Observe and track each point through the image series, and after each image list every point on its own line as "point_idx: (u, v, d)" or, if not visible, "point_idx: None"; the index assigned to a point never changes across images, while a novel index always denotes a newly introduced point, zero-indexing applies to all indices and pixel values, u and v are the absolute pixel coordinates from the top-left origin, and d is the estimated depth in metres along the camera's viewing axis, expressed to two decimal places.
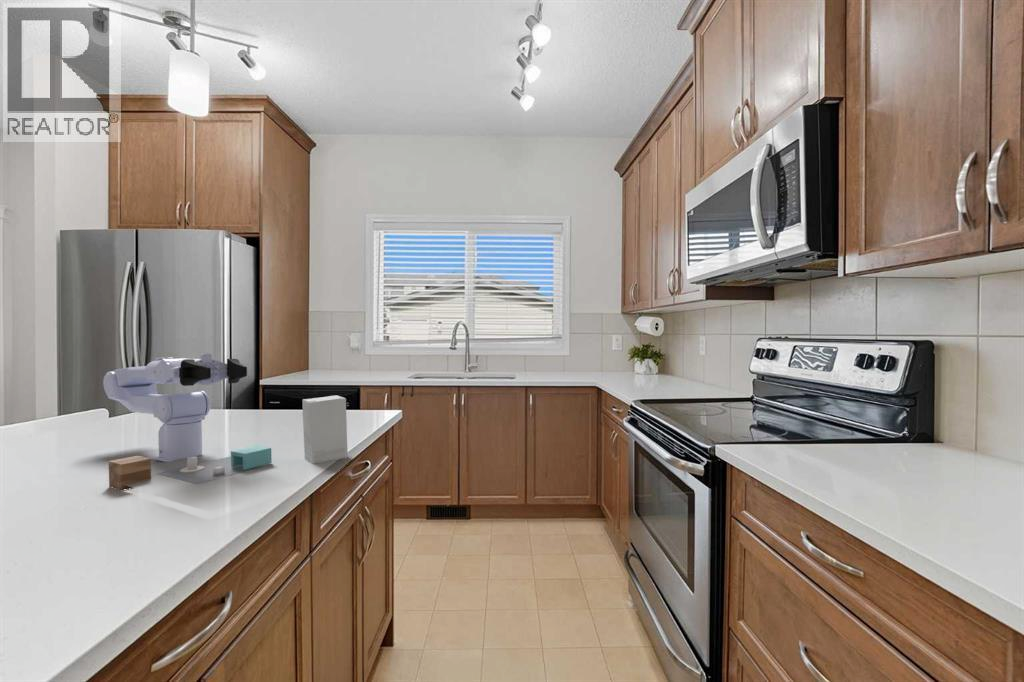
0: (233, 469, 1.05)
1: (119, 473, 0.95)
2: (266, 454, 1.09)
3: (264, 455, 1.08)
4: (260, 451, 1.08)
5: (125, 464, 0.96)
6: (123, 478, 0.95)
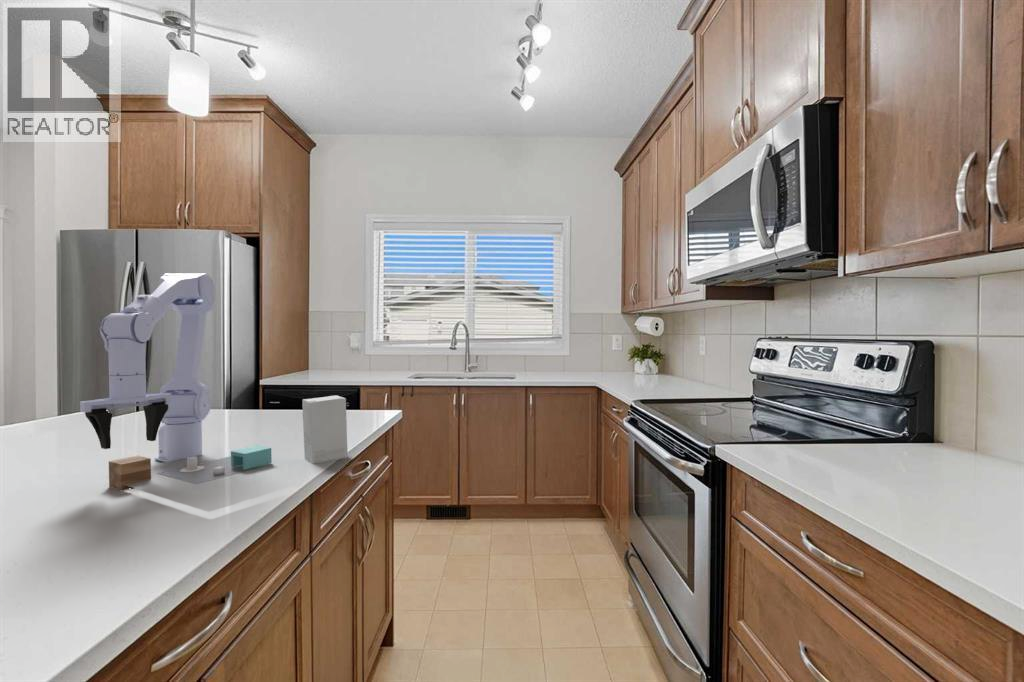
0: (233, 469, 1.05)
1: (119, 473, 0.95)
2: (266, 454, 1.09)
3: (264, 455, 1.08)
4: (260, 451, 1.08)
5: (125, 464, 0.96)
6: (123, 478, 0.95)
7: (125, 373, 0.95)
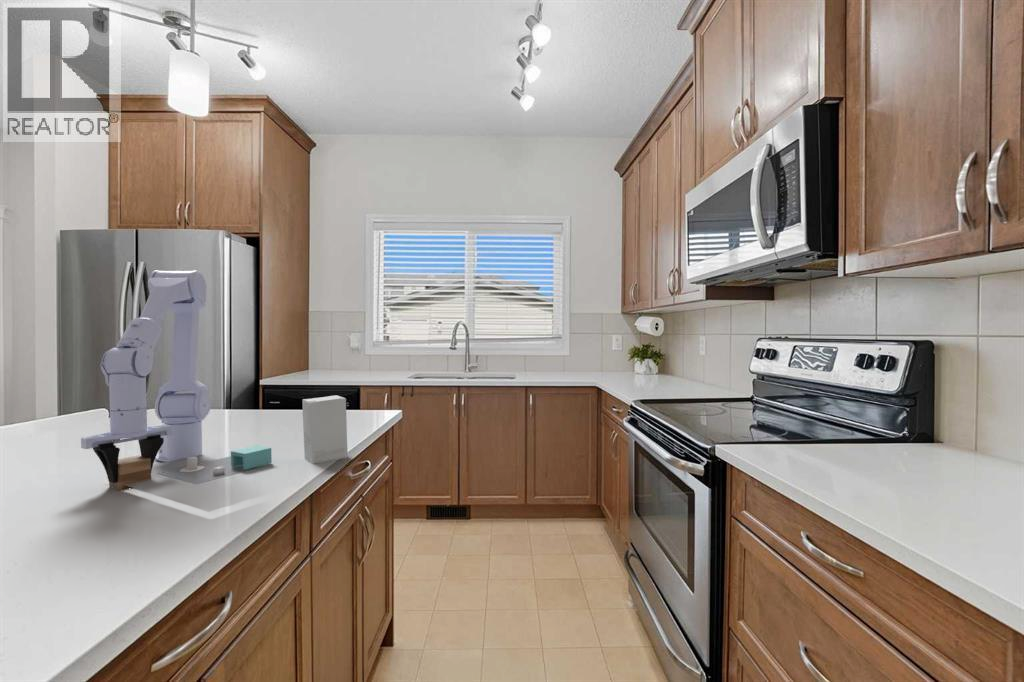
0: (233, 469, 1.05)
1: (119, 473, 0.95)
2: (266, 454, 1.09)
3: (264, 455, 1.08)
4: (260, 451, 1.08)
5: (125, 464, 0.96)
6: (123, 478, 0.95)
7: (126, 408, 0.96)
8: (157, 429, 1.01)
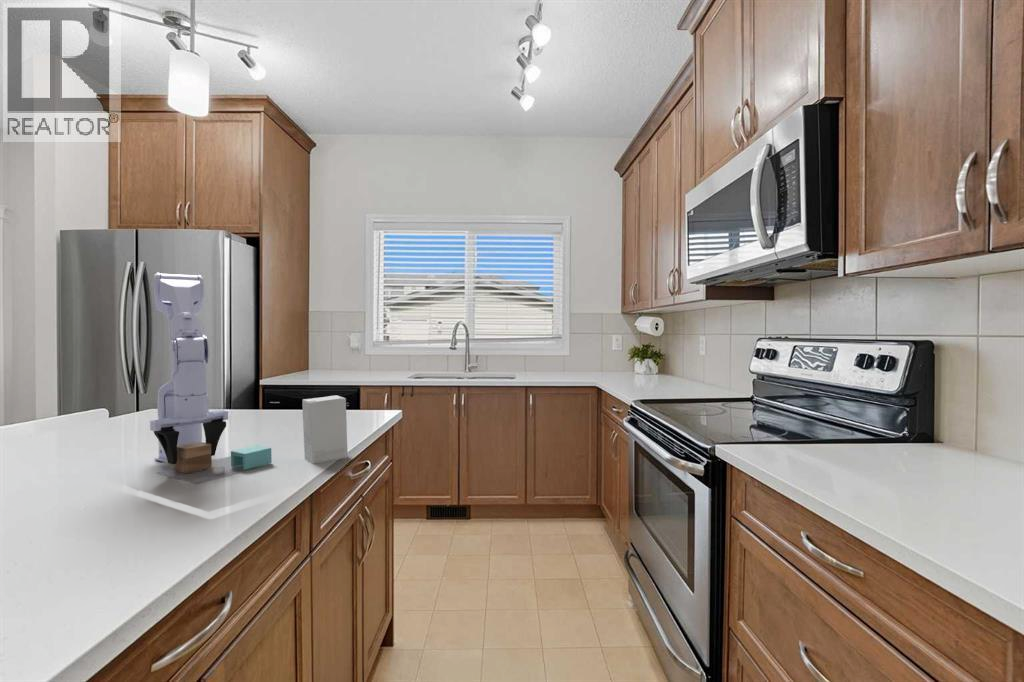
0: (233, 469, 1.05)
1: (184, 457, 1.02)
2: (266, 454, 1.09)
3: (264, 455, 1.08)
4: (260, 451, 1.08)
5: (189, 449, 1.03)
6: (188, 461, 1.02)
7: (198, 393, 1.04)
8: (216, 414, 1.08)
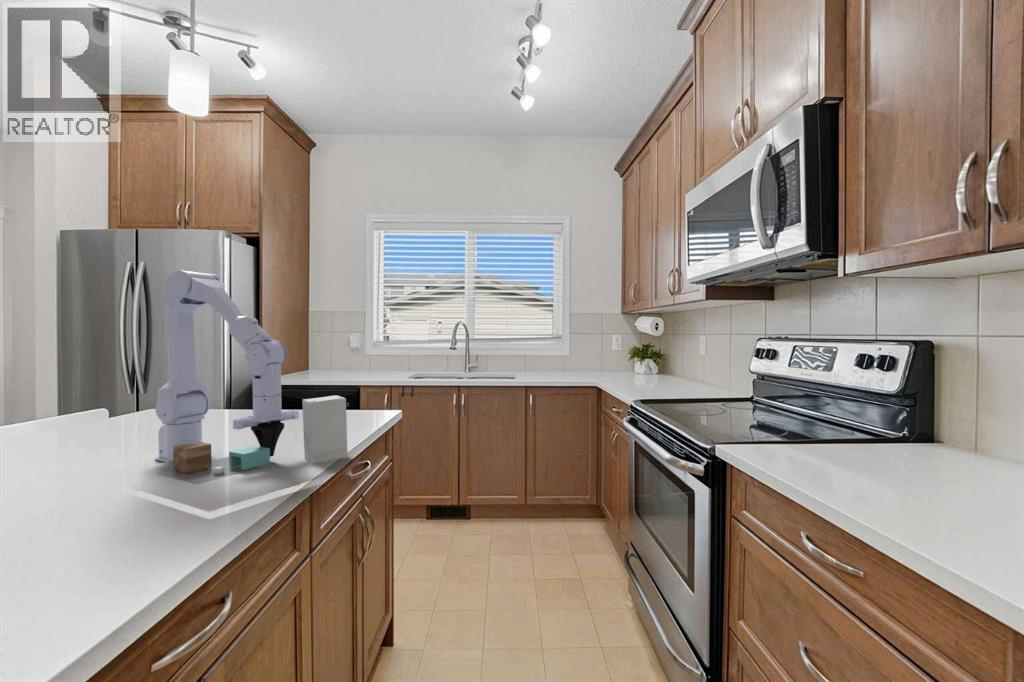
0: (233, 469, 1.05)
1: (184, 457, 1.02)
2: (265, 454, 1.08)
3: (262, 456, 1.08)
4: (258, 451, 1.07)
5: (189, 449, 1.03)
6: (188, 461, 1.02)
7: (280, 392, 1.12)
8: (289, 413, 1.14)
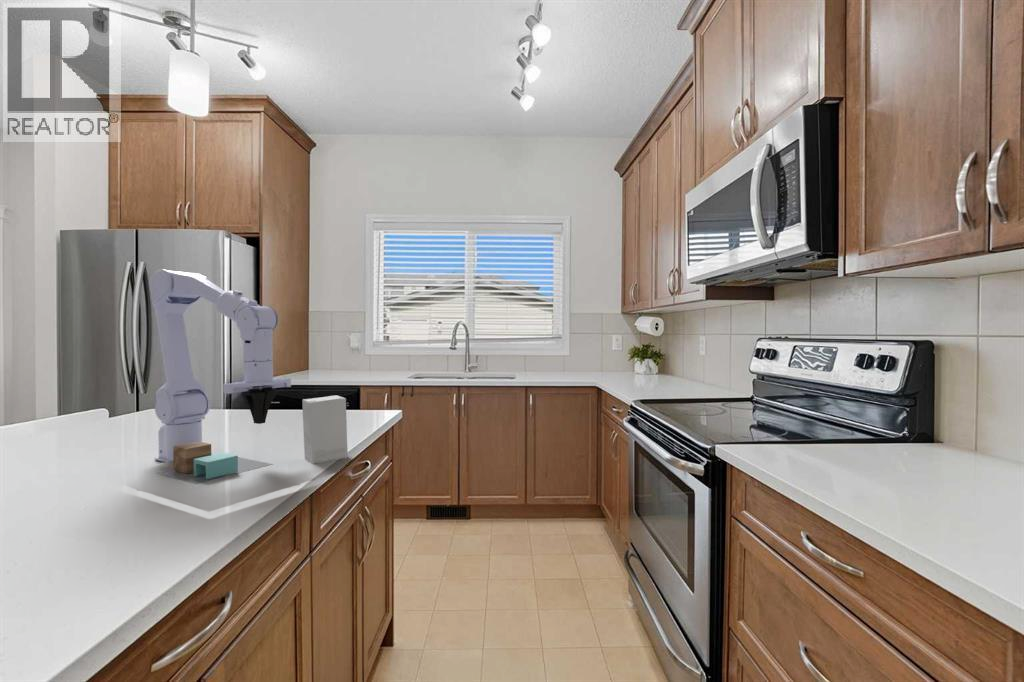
0: None
1: (184, 457, 1.02)
2: (232, 462, 1.02)
3: (229, 464, 1.02)
4: (225, 459, 1.01)
5: (189, 449, 1.03)
6: (188, 461, 1.02)
7: (271, 358, 1.10)
8: (281, 380, 1.12)
